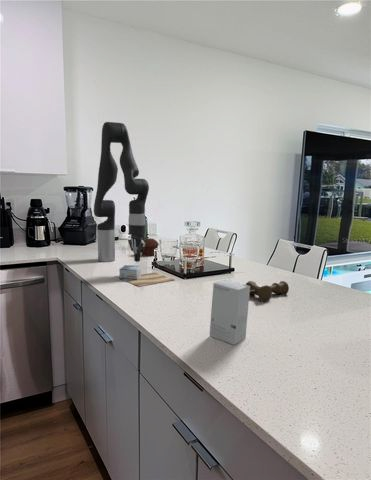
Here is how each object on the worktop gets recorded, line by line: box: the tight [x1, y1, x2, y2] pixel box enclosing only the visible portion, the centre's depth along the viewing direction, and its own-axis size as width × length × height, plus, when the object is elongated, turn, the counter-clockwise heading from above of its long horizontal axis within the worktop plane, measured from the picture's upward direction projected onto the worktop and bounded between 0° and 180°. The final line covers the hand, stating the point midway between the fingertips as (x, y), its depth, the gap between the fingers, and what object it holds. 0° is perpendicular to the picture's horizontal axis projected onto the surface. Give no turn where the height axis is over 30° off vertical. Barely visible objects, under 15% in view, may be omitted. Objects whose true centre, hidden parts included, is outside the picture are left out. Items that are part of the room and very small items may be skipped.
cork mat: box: [122, 272, 176, 288], centre depth 145 cm, size 16×18×1 cm
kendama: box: [245, 280, 290, 303], centre depth 123 cm, size 6×10×20 cm
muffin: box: [141, 237, 160, 257], centre depth 200 cm, size 12×11×10 cm
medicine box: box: [119, 264, 142, 280], centre depth 147 cm, size 8×4×9 cm
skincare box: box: [209, 279, 250, 346], centre depth 87 cm, size 8×6×15 cm
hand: (137, 261), depth 151 cm, fingers closed
